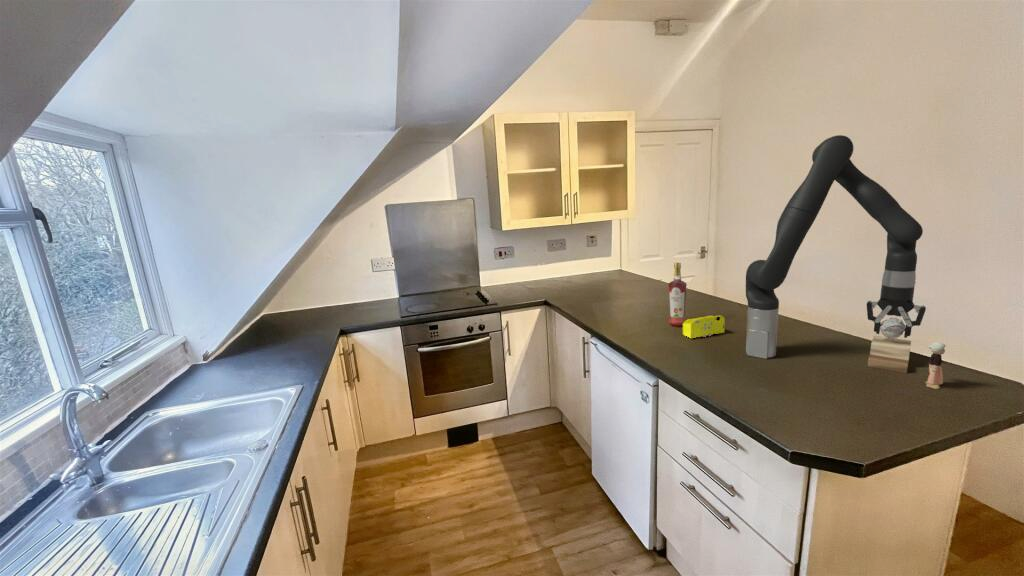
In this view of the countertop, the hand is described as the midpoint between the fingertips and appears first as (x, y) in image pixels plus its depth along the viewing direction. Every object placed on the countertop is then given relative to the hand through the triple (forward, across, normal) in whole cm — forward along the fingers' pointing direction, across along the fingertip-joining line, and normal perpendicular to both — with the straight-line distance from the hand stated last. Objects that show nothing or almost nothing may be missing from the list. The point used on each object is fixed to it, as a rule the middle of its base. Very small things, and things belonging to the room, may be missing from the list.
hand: (891, 335), depth 131 cm
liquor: (+9, -70, +1) cm, 70 cm away
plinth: (+8, 0, -2) cm, 9 cm away
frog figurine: (+1, 0, 0) cm, 1 cm away
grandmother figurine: (+9, +10, -15) cm, 20 cm away
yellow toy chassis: (+9, -56, -6) cm, 57 cm away
